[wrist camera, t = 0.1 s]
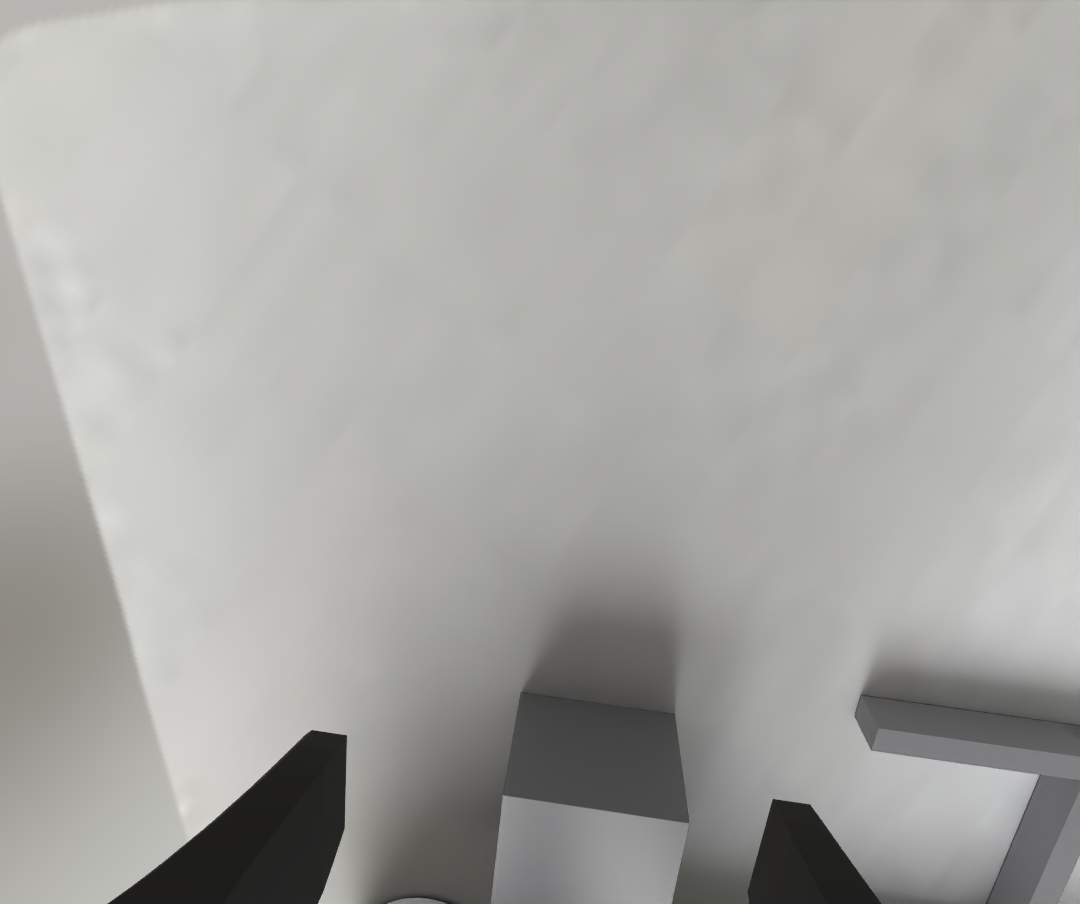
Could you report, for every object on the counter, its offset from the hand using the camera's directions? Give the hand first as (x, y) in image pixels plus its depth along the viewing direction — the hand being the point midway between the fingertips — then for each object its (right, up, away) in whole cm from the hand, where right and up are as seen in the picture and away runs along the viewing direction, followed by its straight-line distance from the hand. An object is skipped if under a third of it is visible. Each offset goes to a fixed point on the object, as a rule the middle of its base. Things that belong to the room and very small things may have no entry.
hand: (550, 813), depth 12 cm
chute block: (+1, -5, +12) cm, 13 cm away
